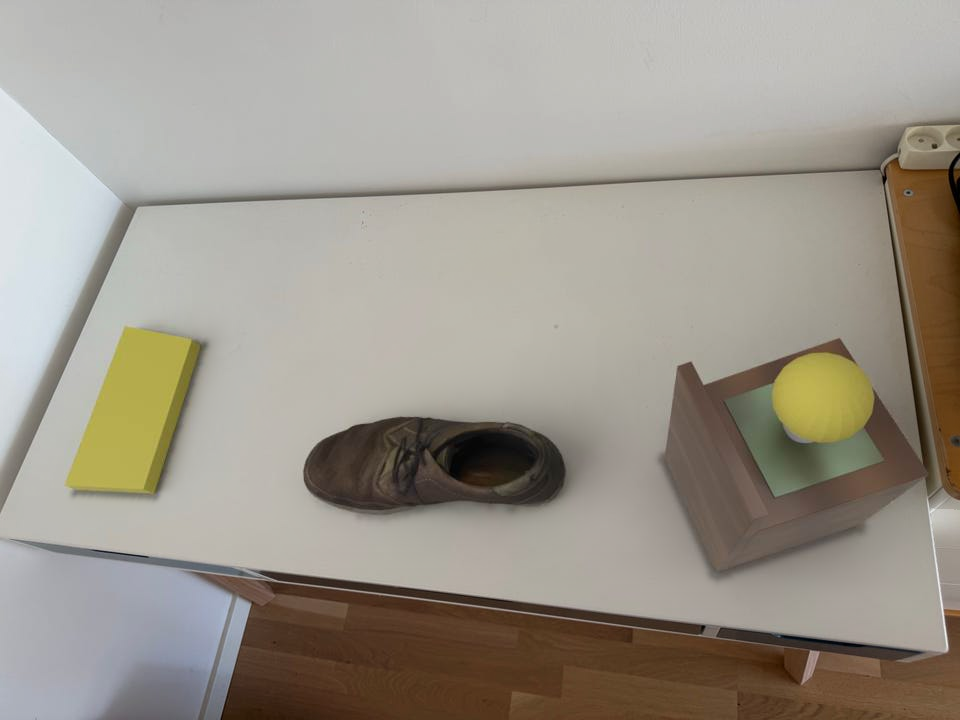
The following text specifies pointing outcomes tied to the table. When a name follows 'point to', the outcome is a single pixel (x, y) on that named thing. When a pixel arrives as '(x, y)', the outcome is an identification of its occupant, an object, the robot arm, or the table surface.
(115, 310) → the table surface
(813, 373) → the light bulb
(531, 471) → the shoe
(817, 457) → the wooden frame
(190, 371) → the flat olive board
